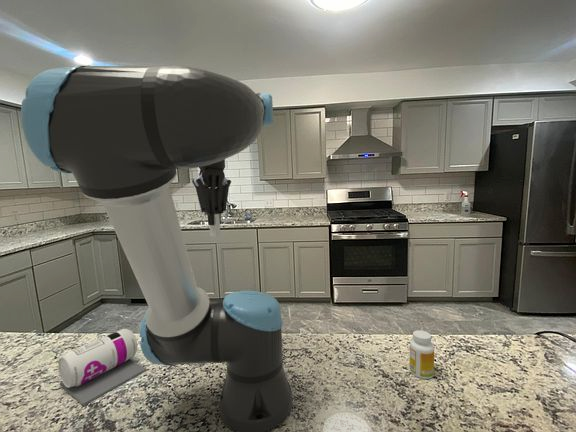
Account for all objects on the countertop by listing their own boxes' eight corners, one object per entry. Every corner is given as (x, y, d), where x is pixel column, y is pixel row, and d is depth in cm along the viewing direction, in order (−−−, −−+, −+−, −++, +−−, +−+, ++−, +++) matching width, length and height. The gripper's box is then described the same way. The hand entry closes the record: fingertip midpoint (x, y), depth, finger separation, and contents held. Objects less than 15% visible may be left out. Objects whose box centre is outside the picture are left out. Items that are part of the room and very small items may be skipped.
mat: (146, 370, 71) (146, 368, 71) (82, 406, 59) (82, 404, 59) (121, 355, 78) (120, 353, 78) (59, 384, 66) (59, 382, 66)
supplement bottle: (436, 371, 67) (437, 333, 67) (430, 383, 63) (430, 342, 63) (413, 362, 71) (414, 326, 70) (406, 373, 67) (406, 334, 66)
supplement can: (141, 341, 73) (75, 373, 60) (134, 362, 76) (69, 397, 63) (126, 321, 77) (60, 347, 64) (119, 342, 79) (55, 371, 66)
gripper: (219, 158, 87) (222, 232, 89) (183, 154, 77) (188, 238, 78) (236, 156, 83) (239, 233, 85) (201, 151, 72) (206, 240, 74)
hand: (215, 235), depth 82 cm, fingers closed
